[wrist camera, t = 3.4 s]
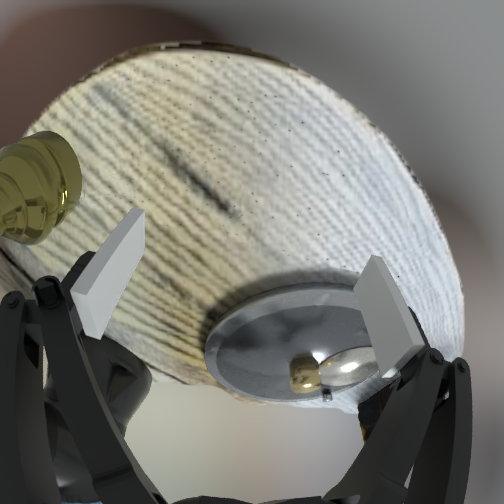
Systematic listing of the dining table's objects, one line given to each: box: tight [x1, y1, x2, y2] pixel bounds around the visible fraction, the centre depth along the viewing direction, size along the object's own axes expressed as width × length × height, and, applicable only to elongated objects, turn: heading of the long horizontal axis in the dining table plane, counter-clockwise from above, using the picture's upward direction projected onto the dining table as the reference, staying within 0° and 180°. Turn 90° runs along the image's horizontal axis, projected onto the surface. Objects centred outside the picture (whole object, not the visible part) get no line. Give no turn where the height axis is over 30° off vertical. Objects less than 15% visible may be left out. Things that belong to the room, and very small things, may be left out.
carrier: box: [204, 283, 379, 402], centre depth 25 cm, size 20×20×4 cm
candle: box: [358, 381, 395, 445], centre depth 31 cm, size 10×10×10 cm
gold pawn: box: [0, 131, 82, 245], centre depth 11 cm, size 7×7×10 cm
